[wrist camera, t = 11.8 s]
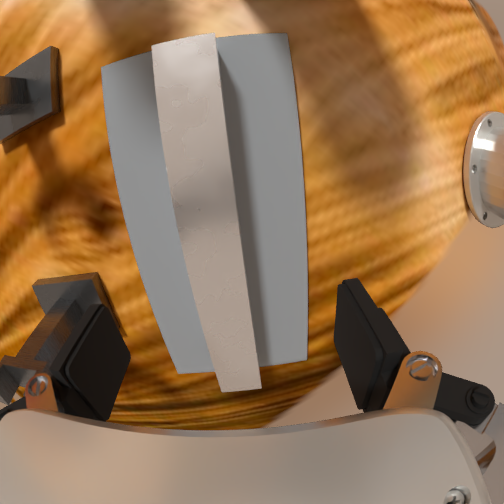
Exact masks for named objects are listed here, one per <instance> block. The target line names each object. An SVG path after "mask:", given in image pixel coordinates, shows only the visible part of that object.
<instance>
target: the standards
mask: <svg viewBox="0 0 504 504" xmlns="http://www.w3.org/2000/svg"><path fill="white" fill-rule="evenodd" d="M58 112H60V100H59V81H58V48H56V47H53V46H50V47H48V48H46V49H44V50H43V51H41V52H39V53H38V54H36V55H35V56H33V57H31V58H30V59H28V60H27V61H25V62H24V63H22V64H21V65H19V66H18V67H16V68H15V69H14V70H12V71H11V72H9V73H8V74H7V75H5V76H0V144H2V143H3V142H5V141H6V140H8V139H10V138H11V137H13V136H15V135H16V134H18V133H20V132H21V131H23V130H25V129H27V128H29V127H30V126H32V125H34V124H36V123H38V122H40V121H42V120H44V119H46V118H48V117H50V116H52V115H54V114H56V113H58ZM32 287H33V289H34V292H35V294H36V296H37V298H38V300H39V302H40V304H41V307H42V309H43V311H44V313H45V316H44V318H43V319H42V320H41V322H40V323H39V324H38V326H37V327H36V328H35V330H34V331H33V332H32V334H31V335H30V337H29V338H28V339H27V341H26V342H25V344H24V345H23V346H22V348H21V349H20V351H19V352H18V354H17V355H16V357H12V356H6V355H4V357H3V358H2V360H1V361H0V402H2V403H4V404H7V405H9V404H10V402H11V400H12V398H13V396H14V394H15V392H16V390H17V389H18V387H19V386H22V387H26V384H27V383H28V381H29V380H30V379H31V378H32V377H33V376H35V375H37V374H39V373H45V374H48V375H49V376H50V377H51V376H52V373H51V372H50V371H49V368H50V366H51V364H52V363H53V361H54V359H55V358H56V356H57V354H58V353H59V351H60V350H61V348H62V346H63V345H64V343H65V342H66V340H67V338H68V337H69V335H70V334H71V332H72V331H73V329H74V328H75V326H76V325H77V323H78V322H79V320H80V319H81V317H82V316H83V315H84V313H85V312H86V310H87V309H88V307H89V306H90V305H91V304H104V305H105V306H106V307H108V308H109V310H110V312H111V315H112V317H113V319H114V321H115V323H116V326H117V328H118V329H119V327H120V326H119V324H118V322H117V320H116V317H115V315H114V313H113V310H112V308H111V306H110V303H109V301H108V299H107V296H106V294H105V291H104V289H103V286H102V283H101V281H100V278H99V275H98V273H97V272H95V273H87V274H79V275H71V276H63V277H55V278H48V279H40V280H37V281H36V282H35V283H34V284H33V285H32ZM23 395H24V396H25V392H24V394H23Z"/></svg>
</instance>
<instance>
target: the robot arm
mask: <svg viewBox="0 0 504 504" xmlns="http://www.w3.org/2000/svg"><path fill="white" fill-rule="evenodd" d="M463 174H464V187H465V194H466V198H467V202H468V205H469V208H470V210H471V212H472V214H473V215H474V217H475V218H476V219H477V220H478V221H479V222H480V223H482V224H483V225H486V226H487V227H491V228H496V227H499V226H501V225H503V224H504V114H503V113H500V112H494V111H492V112H486V113H484V114H482V115H481V116H480V117H479V118H477V120H476V121H475V123H474V124H473V126H472V129H471V131H470V133H469V136H468V140H467V143H466V148H465V155H464V167H463ZM334 343H335V346H336V349H337V352H338V354H339V357H340V360H341V362H342V365H343V368H344V371H345V373H346V376H347V379H348V382H349V385H350V388H351V391H352V393H353V396H354V399H355V402H356V405H357V408H358V409H359V410H360V409H363V412H364V413H360V414H356V415H350V416H345V417H340V418H335V419H329V420H324V421H317V422H311V423H304V424H297V425H290V426H281V427H272V428H261V429H247V430H221V431H196V430H171V429H157V428H146V427H137V426H129V425H122V424H115V423H109V422H106V420H108V419H109V417H110V414H111V411H112V408H113V405H114V403H115V400H116V397H117V394H118V391H119V389H120V386H121V383H122V380H123V378H124V375H125V372H126V370H127V367H128V365H129V362H130V358H131V357H130V352H129V350H128V348H127V346H126V344H125V342H124V340H123V338H122V336H121V334H120V332H119V330H118V328H117V326H116V323H115V321H114V319H113V317H112V315H111V312H110V310H109V308H108V307H106V306H105V305H104V304H91V305H90V306H89V307H88V309H87V310H86V312H85V313H84V315H83V316H82V317H81V319H80V320H79V322H78V323H77V325H76V326H75V328H74V329H73V331H72V332H71V334H70V335H69V337H68V338H67V340H66V342H65V343H64V345H63V346H62V348H61V350H60V351H59V353H58V354H57V356H56V358H55V359H54V361H53V363H52V364H51V366H50V368H49V371H50V372H51V373H52V376H51V377H50V376H49V375H48V374H45V373H39V374H37V375H35V376H33V377H32V378H31V379H30V380H29V381H28V383H27V384H26V387H25V397H23V398H21V399H19V400H17V401H15V402H14V403H12V404H10V405H8V406H6V407H4V408H3V409H1V410H0V504H503V502H504V404H502V403H499V404H498V405H497V404H495V399H494V395H493V393H492V392H491V391H490V390H489V389H488V388H487V387H486V386H483V385H481V384H477V383H475V382H471V381H468V380H464V379H462V378H459V377H455V376H452V375H449V374H446V373H443V372H442V365H441V363H440V361H439V360H438V358H437V357H435V356H434V355H432V354H430V353H428V352H423V351H416V352H412V353H411V352H410V351H409V349H408V347H407V346H406V345H405V343H404V341H403V339H402V338H401V336H400V335H399V333H398V331H397V330H396V328H395V327H394V325H393V324H392V322H391V321H390V319H389V318H388V316H387V314H386V313H385V311H384V310H383V309H382V308H377V306H376V305H375V303H374V302H373V300H372V299H371V297H370V296H369V294H368V293H367V291H366V290H365V288H364V287H363V285H362V284H361V282H360V281H359V279H358V278H354V279H347V280H343V282H342V284H339V285H338V291H337V305H336V318H335V329H334Z"/></svg>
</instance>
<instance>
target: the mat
mask: <svg viewBox="0 0 504 504" xmlns="http://www.w3.org/2000/svg"><path fill="white" fill-rule="evenodd" d="M216 42H217V48H218V55H219V63H220V72H221V80H222V89H223V97H224V105H225V113H226V122H227V130H228V138H229V146H230V154H231V162H232V170H233V177H234V185H235V193H236V201H237V208H238V216H239V223H240V231H241V238H242V246H243V253H244V261H245V268H246V275H247V283H248V290H249V297H250V304H251V312H252V319H253V326H254V333H255V340H256V347H257V354H258V361H259V367H263V366H271V365H278V364H284V363H291V362H297V361H303V360H307V336H308V272H307V236H306V212H305V194H304V178H303V164H302V152H301V140H300V130H299V120H298V110H297V101H296V93H295V84H294V77H293V69H292V62H291V55H290V48H289V42H288V35H287V33H267V34H249V35H237V36H228V37H219V38H216ZM101 71H102V86H103V97H104V107H105V116H106V124H107V131H108V138H109V145H110V151H111V157H112V162H113V168H114V173H115V178H116V183H117V188H118V192H119V197H120V201H121V206H122V210H123V214H124V218H125V222H126V226H127V230H128V233H129V237H130V241H131V244H132V248H133V251H134V255H135V258H136V262H137V265H138V268H139V271H140V274H141V278H142V281H143V284H144V287H145V290H146V293H147V296H148V298H149V301H150V304H151V307H152V310H153V312H154V315H155V318H156V321H157V323H158V326H159V328H160V331H161V333H162V336H163V339H164V341H165V343H166V346H167V348H168V351H169V353H170V355H171V358H172V360H173V362H174V365H175V367H176V369H177V372H178V373H200V372H214V371H215V369H214V366H213V363H212V360H211V357H210V353H209V350H208V347H207V343H206V340H205V336H204V333H203V329H202V326H201V322H200V319H199V315H198V311H197V308H196V304H195V300H194V296H193V292H192V288H191V284H190V280H189V276H188V272H187V268H186V264H185V260H184V255H183V251H182V246H181V242H180V237H179V233H178V228H177V223H176V218H175V213H174V208H173V203H172V198H171V193H170V187H169V182H168V176H167V170H166V164H165V158H164V152H163V145H162V138H161V131H160V124H159V117H158V109H157V100H156V91H155V82H154V71H153V59H152V51H149V52H146V53H142V54H139V55H136V56H132V57H129V58H126V59H123V60H120V61H117V62H114V63H111V64H109V65H106V66H103V67H101Z"/></svg>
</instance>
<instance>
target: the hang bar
mask: <svg viewBox="0 0 504 504" xmlns="http://www.w3.org/2000/svg"><path fill="white" fill-rule="evenodd" d="M152 59H153V71H154V82H155V91H156V100H157V109H158V117H159V124H160V131H161V138H162V145H163V152H164V158H165V164H166V170H167V176H168V182H169V187H170V193H171V198H172V203H173V208H174V213H175V218H176V223H177V228H178V233H179V237H180V242H181V246H182V251H183V255H184V260H185V264H186V268H187V272H188V276H189V280H190V284H191V288H192V292H193V296H194V300H195V304H196V308H197V311H198V315H199V319H200V322H201V326H202V329H203V333H204V336H205V340H206V343H207V347H208V350H209V353H210V357H211V360H212V363H213V366H214V369H215V373H216V376H217V379H218V382H219V385H220V388H221V391H222V392H231V391H242V390H252V389H261V388H262V387H261V378H260V370H259V361H258V354H257V347H256V340H255V333H254V326H253V319H252V312H251V304H250V297H249V290H248V283H247V275H246V268H245V261H244V253H243V246H242V238H241V231H240V223H239V216H238V208H237V201H236V193H235V185H234V177H233V170H232V162H231V154H230V146H229V138H228V130H227V122H226V113H225V105H224V97H223V89H222V80H221V72H220V63H219V55H218V48H217V42H216V37H215V33H210V34H203V35H197V36H192V37H186V38H181V39H177V40H172V41H168V42H163V43H159V44H155V45H152Z"/></svg>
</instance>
